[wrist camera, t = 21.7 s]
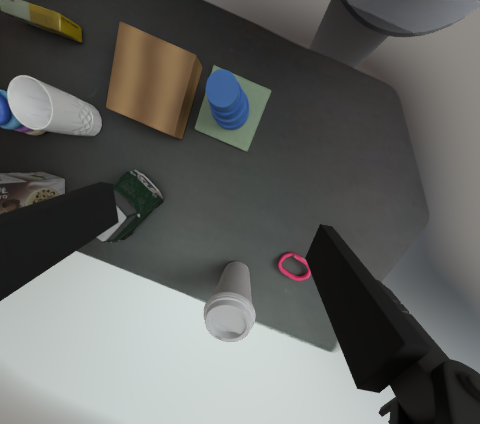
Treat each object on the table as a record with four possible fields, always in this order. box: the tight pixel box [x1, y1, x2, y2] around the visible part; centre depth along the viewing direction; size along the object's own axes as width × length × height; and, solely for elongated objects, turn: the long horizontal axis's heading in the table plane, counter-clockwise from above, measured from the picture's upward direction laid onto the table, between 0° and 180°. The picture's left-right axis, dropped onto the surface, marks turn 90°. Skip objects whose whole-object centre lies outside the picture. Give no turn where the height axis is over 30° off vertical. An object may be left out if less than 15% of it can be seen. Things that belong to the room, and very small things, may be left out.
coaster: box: [195, 65, 271, 152], centre depth 34 cm, size 12×12×1 cm
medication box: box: [0, 0, 82, 43], centre depth 31 cm, size 12×3×4 cm, turn 71°
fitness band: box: [278, 253, 311, 281], centre depth 41 cm, size 8×6×2 cm
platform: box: [106, 22, 203, 140], centre depth 33 cm, size 14×14×4 cm
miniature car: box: [96, 170, 164, 243], centre depth 38 cm, size 9×18×8 cm, turn 132°
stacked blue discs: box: [206, 69, 249, 130], centre depth 29 cm, size 7×7×10 cm
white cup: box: [7, 75, 102, 136], centre depth 32 cm, size 8×8×10 cm
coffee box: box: [0, 172, 65, 214], centre depth 35 cm, size 9×6×16 cm
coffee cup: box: [204, 261, 255, 342], centre depth 36 cm, size 10×10×15 cm
